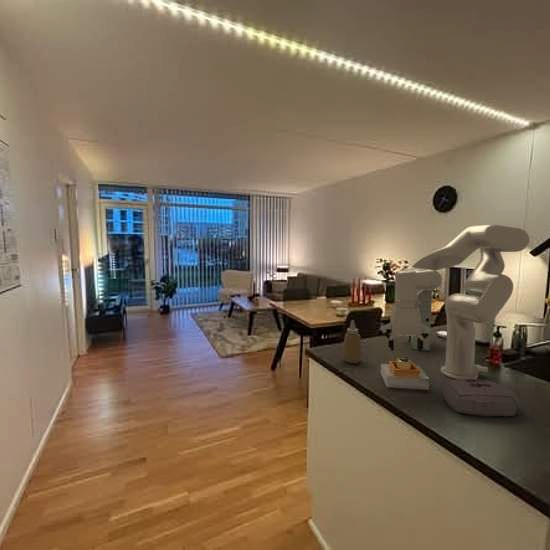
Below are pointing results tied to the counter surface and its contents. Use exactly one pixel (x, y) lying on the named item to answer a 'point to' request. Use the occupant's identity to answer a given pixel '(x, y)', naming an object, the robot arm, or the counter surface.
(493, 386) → the grey rounded bag
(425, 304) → the device
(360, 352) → the squeeze bottle
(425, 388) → the orange white open box
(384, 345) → the counter surface
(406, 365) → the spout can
